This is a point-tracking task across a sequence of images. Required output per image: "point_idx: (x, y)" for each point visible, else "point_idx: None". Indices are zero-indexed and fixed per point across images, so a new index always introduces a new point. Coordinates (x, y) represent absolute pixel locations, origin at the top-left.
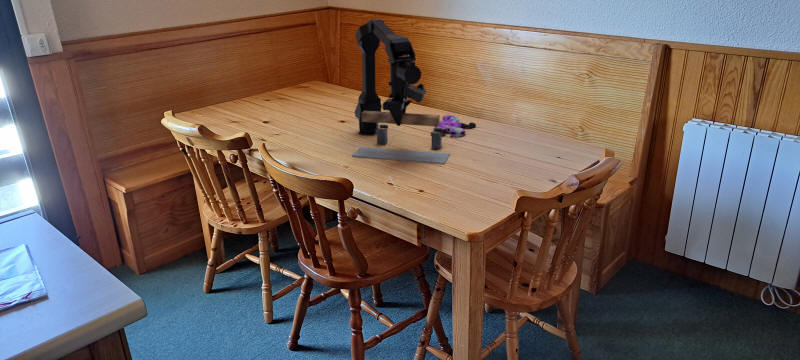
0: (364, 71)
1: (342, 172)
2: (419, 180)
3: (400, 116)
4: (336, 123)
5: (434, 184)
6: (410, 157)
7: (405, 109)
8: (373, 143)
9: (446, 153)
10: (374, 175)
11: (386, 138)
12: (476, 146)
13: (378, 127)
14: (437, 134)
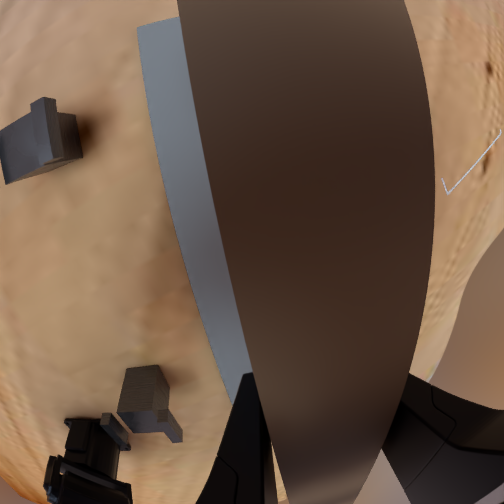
0: None
1: (436, 327)
2: (451, 79)
3: (440, 392)
4: None
5: (452, 32)
6: None
7: (257, 495)
8: None
9: (142, 39)
10: (452, 237)
11: (134, 382)
12: (12, 15)
13: (71, 427)
14: (49, 109)
